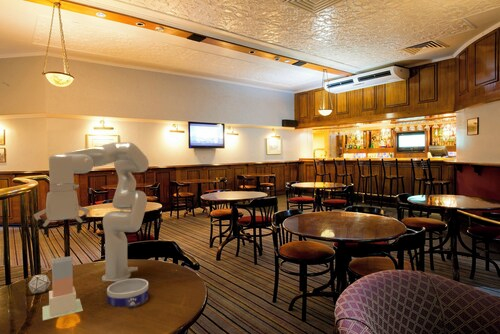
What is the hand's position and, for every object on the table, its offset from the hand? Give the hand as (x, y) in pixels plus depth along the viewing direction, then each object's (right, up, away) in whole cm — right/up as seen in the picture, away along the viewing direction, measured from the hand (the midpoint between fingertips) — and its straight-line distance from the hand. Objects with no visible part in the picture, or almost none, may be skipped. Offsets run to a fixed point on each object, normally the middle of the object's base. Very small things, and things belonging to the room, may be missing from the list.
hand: (63, 234), depth 111 cm
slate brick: (0, -15, 0) cm, 15 cm away
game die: (-19, -28, +15) cm, 38 cm away
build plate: (0, -28, 0) cm, 28 cm away
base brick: (0, -27, 0) cm, 27 cm away
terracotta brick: (0, -21, 0) cm, 21 cm away
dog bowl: (+20, -28, +9) cm, 36 cm away
